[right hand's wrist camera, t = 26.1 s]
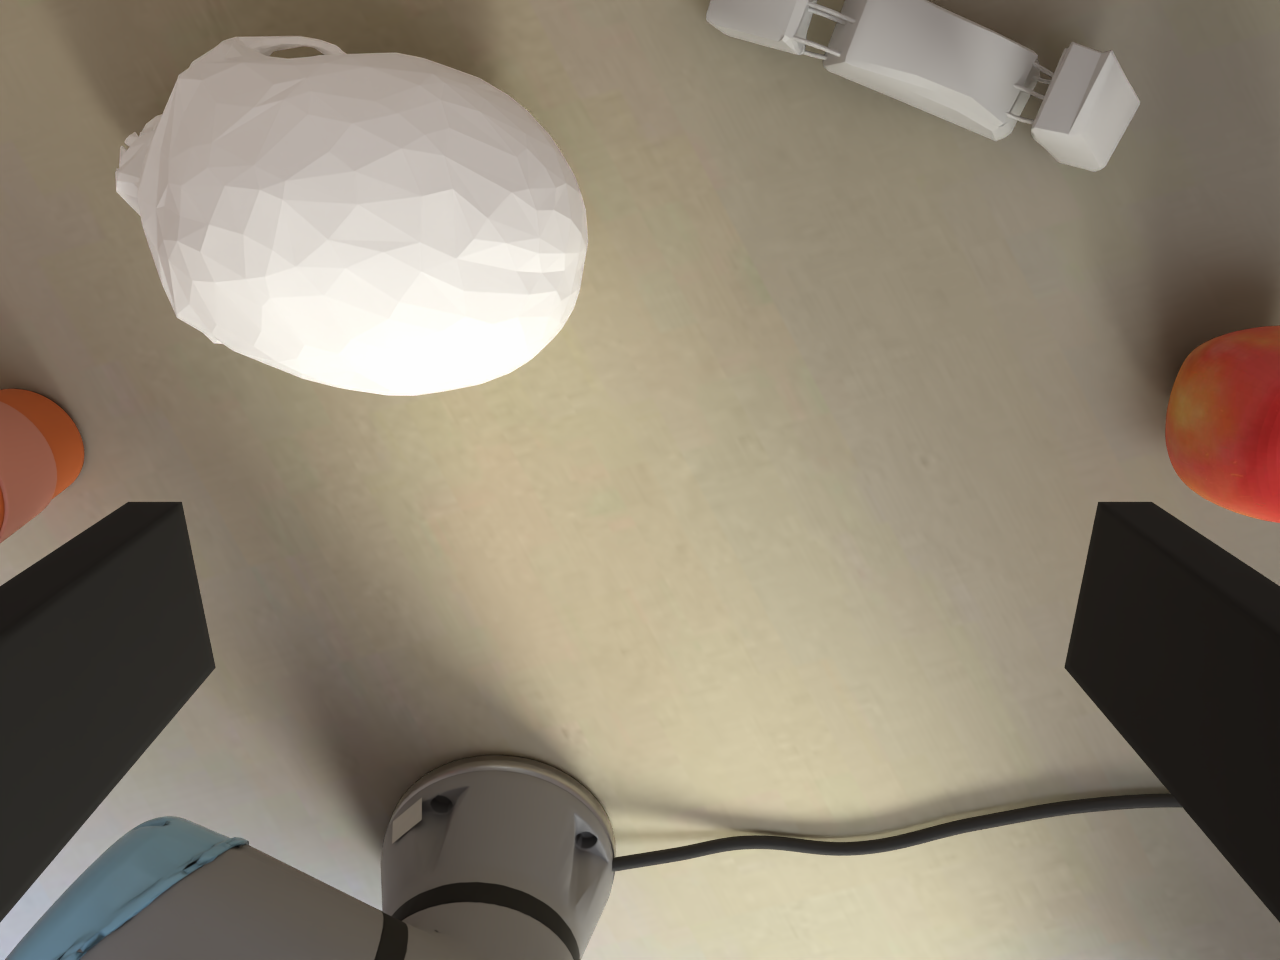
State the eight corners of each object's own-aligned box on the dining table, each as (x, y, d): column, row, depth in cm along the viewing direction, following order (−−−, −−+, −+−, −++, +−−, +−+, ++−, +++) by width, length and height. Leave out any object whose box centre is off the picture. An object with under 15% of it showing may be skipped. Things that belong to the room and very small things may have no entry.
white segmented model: (1126, 98, 40) (1204, 78, 34) (1088, 177, 42) (1155, 172, 35) (732, -48, 40) (734, -96, 34) (705, 36, 41) (702, 5, 35)
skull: (142, 26, 40) (-152, -36, 25) (607, 91, 41) (587, 68, 26) (166, 308, 45) (-67, 394, 30) (579, 360, 46) (549, 467, 31)
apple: (1222, 503, 48) (1362, 584, 39) (1085, 432, 47) (1197, 499, 37) (1340, 353, 45) (1524, 402, 36) (1198, 272, 44) (1351, 301, 34)
